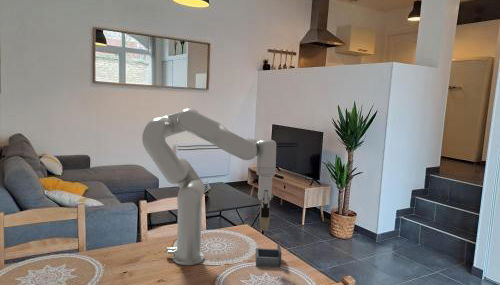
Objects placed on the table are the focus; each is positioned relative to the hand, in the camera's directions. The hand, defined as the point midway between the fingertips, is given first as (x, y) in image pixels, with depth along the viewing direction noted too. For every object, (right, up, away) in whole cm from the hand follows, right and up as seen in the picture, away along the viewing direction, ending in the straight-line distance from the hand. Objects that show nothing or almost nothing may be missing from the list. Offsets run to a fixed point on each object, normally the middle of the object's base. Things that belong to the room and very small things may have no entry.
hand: (264, 214), depth 143 cm
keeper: (+1, -20, +3) cm, 20 cm away
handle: (0, -6, +1) cm, 6 cm away
